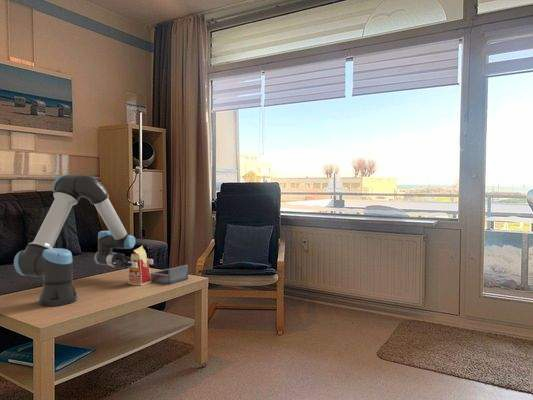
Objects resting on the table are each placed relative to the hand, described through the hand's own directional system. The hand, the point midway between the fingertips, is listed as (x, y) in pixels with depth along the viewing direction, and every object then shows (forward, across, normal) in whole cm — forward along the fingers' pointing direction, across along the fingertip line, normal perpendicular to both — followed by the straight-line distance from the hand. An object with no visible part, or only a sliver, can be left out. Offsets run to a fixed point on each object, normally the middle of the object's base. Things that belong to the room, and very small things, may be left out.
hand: (144, 263), depth 211 cm
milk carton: (-4, 0, -11) cm, 12 cm away
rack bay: (+5, -13, -11) cm, 18 cm away
